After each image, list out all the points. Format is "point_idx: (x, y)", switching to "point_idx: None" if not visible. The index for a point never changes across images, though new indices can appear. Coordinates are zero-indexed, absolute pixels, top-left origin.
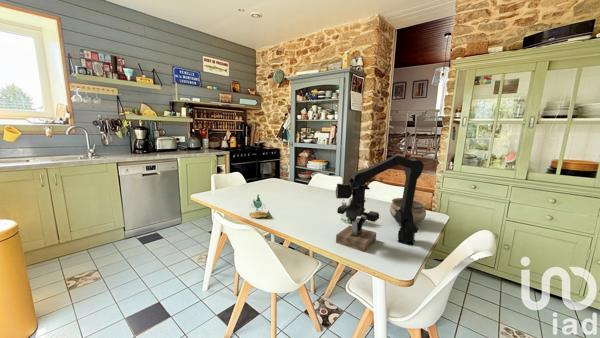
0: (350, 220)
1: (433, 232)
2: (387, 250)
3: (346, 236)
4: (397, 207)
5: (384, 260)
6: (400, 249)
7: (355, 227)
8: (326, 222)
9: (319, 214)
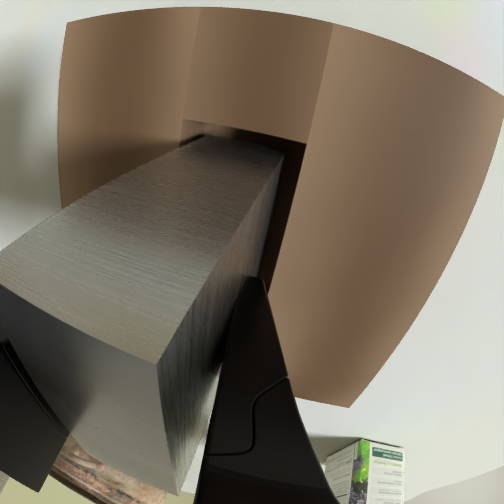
0: (296, 446)
1: None
2: (30, 165)
3: (346, 70)
4: (102, 493)
5: (21, 32)
6: (8, 214)
7: (125, 199)
8: (491, 409)
9: (495, 448)
